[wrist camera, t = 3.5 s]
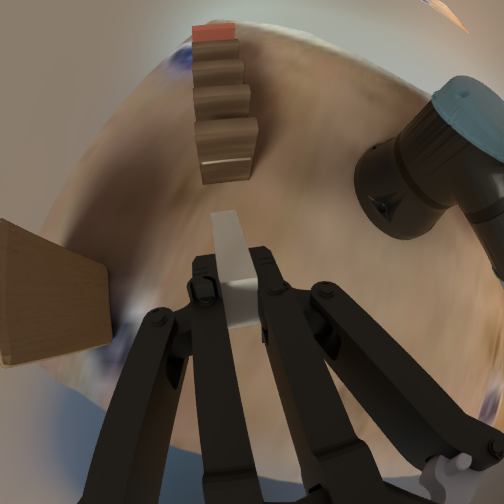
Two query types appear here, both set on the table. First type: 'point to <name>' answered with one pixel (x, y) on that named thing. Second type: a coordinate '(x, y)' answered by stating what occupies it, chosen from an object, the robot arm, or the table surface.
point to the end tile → (213, 32)
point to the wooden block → (48, 299)
